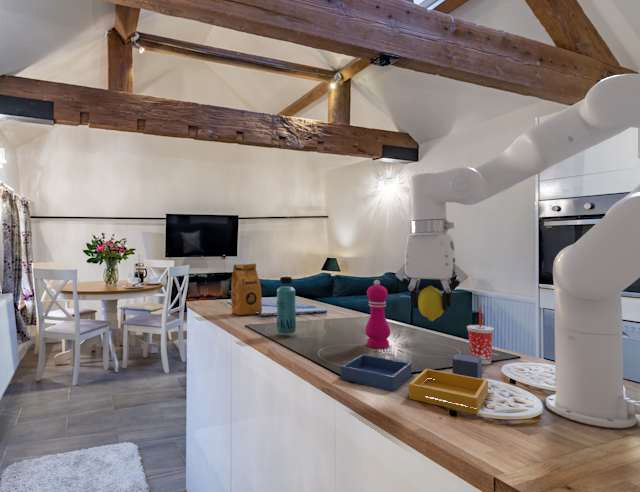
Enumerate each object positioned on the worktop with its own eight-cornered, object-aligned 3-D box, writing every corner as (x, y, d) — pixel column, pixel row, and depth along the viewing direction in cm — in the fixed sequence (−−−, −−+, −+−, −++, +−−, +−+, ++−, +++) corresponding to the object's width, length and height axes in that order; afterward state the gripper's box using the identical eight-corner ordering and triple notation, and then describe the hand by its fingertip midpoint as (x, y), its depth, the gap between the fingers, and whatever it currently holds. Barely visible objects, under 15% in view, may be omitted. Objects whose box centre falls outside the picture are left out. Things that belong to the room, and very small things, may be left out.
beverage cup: (489, 367, 102) (489, 311, 102) (463, 361, 106) (462, 308, 106) (497, 361, 106) (497, 308, 106) (472, 356, 110) (471, 305, 110)
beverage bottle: (282, 332, 141) (282, 275, 141) (299, 335, 137) (299, 276, 137) (273, 336, 136) (272, 277, 136) (290, 339, 132) (289, 278, 132)
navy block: (481, 379, 93) (481, 357, 93) (477, 385, 89) (477, 362, 89) (457, 374, 96) (457, 353, 96) (452, 380, 93) (452, 358, 93)
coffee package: (264, 315, 173) (263, 263, 173) (237, 317, 169) (236, 264, 169) (255, 311, 183) (254, 262, 183) (229, 313, 178) (228, 263, 178)
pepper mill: (364, 347, 120) (363, 280, 121) (366, 341, 127) (365, 278, 127) (390, 350, 118) (389, 281, 118) (390, 343, 124) (389, 279, 125)
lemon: (448, 323, 88) (447, 286, 88) (421, 323, 89) (419, 286, 89) (441, 318, 93) (440, 284, 93) (416, 318, 94) (414, 284, 94)
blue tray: (411, 375, 96) (411, 363, 96) (393, 391, 87) (393, 377, 87) (362, 365, 104) (362, 354, 104) (340, 379, 95) (340, 366, 95)
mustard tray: (488, 394, 84) (487, 380, 84) (477, 414, 75) (476, 398, 75) (426, 381, 92) (425, 368, 92) (409, 398, 83) (408, 383, 83)
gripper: (475, 226, 88) (478, 309, 88) (396, 230, 100) (398, 303, 99) (467, 226, 83) (470, 315, 82) (384, 230, 94) (387, 308, 94)
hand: (431, 308), depth 91 cm, fingers closed on lemon, 5 cm apart
